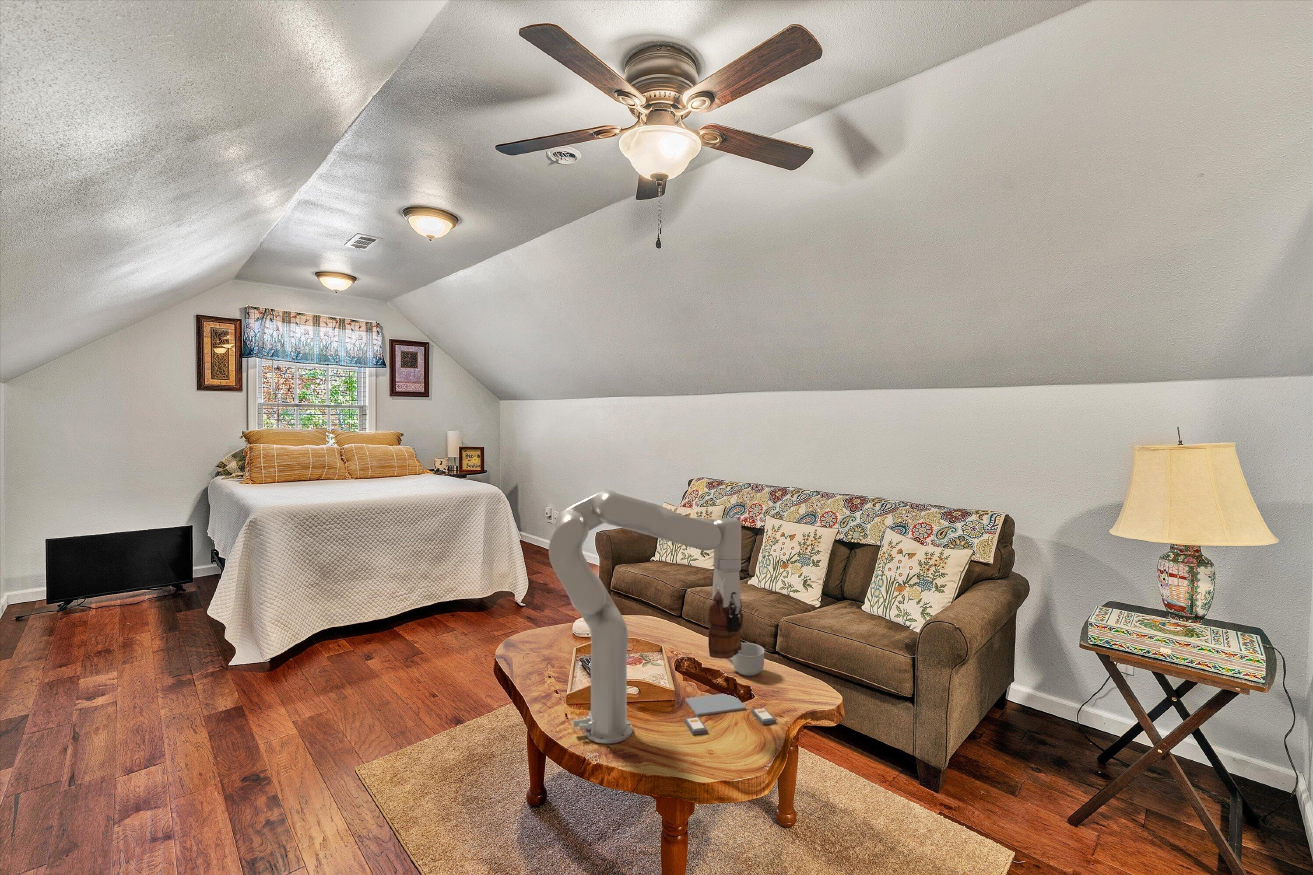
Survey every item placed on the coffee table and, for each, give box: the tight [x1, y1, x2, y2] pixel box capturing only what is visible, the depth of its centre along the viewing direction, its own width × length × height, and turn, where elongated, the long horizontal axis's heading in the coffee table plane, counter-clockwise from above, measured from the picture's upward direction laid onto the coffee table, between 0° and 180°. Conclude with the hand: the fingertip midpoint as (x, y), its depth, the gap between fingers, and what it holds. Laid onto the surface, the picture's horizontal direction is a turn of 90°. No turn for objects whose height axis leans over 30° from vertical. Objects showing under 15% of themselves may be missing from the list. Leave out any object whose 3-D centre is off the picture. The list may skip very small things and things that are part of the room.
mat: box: [685, 693, 747, 717], centre depth 169 cm, size 15×10×1 cm, turn 106°
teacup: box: [726, 642, 766, 677], centre depth 193 cm, size 14×11×8 cm
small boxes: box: [683, 707, 777, 736], centre depth 159 cm, size 24×7×1 cm, turn 106°
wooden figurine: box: [707, 591, 744, 660], centre depth 160 cm, size 12×6×18 cm, turn 143°
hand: (726, 625), depth 161 cm, fingers closed on wooden figurine, 8 cm apart
